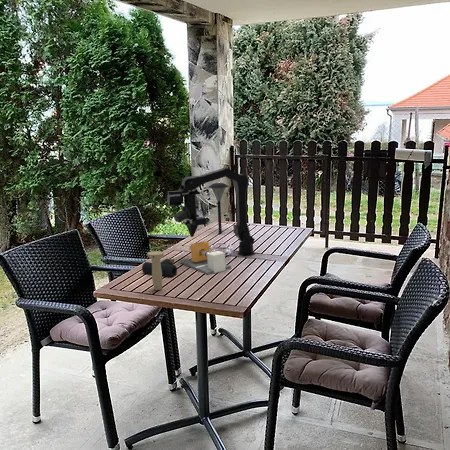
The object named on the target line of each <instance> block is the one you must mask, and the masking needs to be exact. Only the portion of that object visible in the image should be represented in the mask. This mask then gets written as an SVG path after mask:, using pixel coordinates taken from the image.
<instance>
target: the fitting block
mask: <svg viewBox="0 0 450 450" xmlns="http://www.w3.org/2000/svg"><path fill="white" fill-rule="evenodd" d="M207 257H208V269H211V270H213V271H214V273H213V274H217V273H220V272H223V271H226V268H225V264H226V253H225V252H224V251H220V250H216V251H212V252H209V253H207Z"/></svg>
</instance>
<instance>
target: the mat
mask: <svg viewBox="0 0 450 450" xmlns="http://www.w3.org/2000/svg"><path fill="white" fill-rule="evenodd" d="M180 264H182V265H184V266H186V267H189V268H191V269H193V270H196V271H198V272H199V273H200V272H201V273H203V274H205V275H212V274H215V273H214V271H213V270H211V269H208V259H206V260H202V261H198V262H193V261H192V259H191V258H189V259H185V260H181V261H180ZM225 268H226V270H230V269H232V265H229V264H226V263H225ZM226 270H225V271H226Z"/></svg>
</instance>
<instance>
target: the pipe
mask: <svg viewBox="0 0 450 450" xmlns="http://www.w3.org/2000/svg"><path fill="white" fill-rule="evenodd" d="M188 249H189V251H191V245H190V246H189V248H188ZM207 253H210V251H209V252H206V251H204V250H201V249H200V250H199V254H202V255H205V256H206V257H207Z"/></svg>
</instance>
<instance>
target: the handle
mask: <svg viewBox="0 0 450 450" xmlns="http://www.w3.org/2000/svg"><path fill="white" fill-rule="evenodd" d="M146 255H147V258H150V259H151V263H152V274H151V278H152V284H153V290H156V291H161V290H162V289H163V276H162V270H161V262H162V261H161V258H163V257H164V255H165V253H164V251H160V250H159V251H157V250H155V251H154V250H153V251H147V254H146Z"/></svg>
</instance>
